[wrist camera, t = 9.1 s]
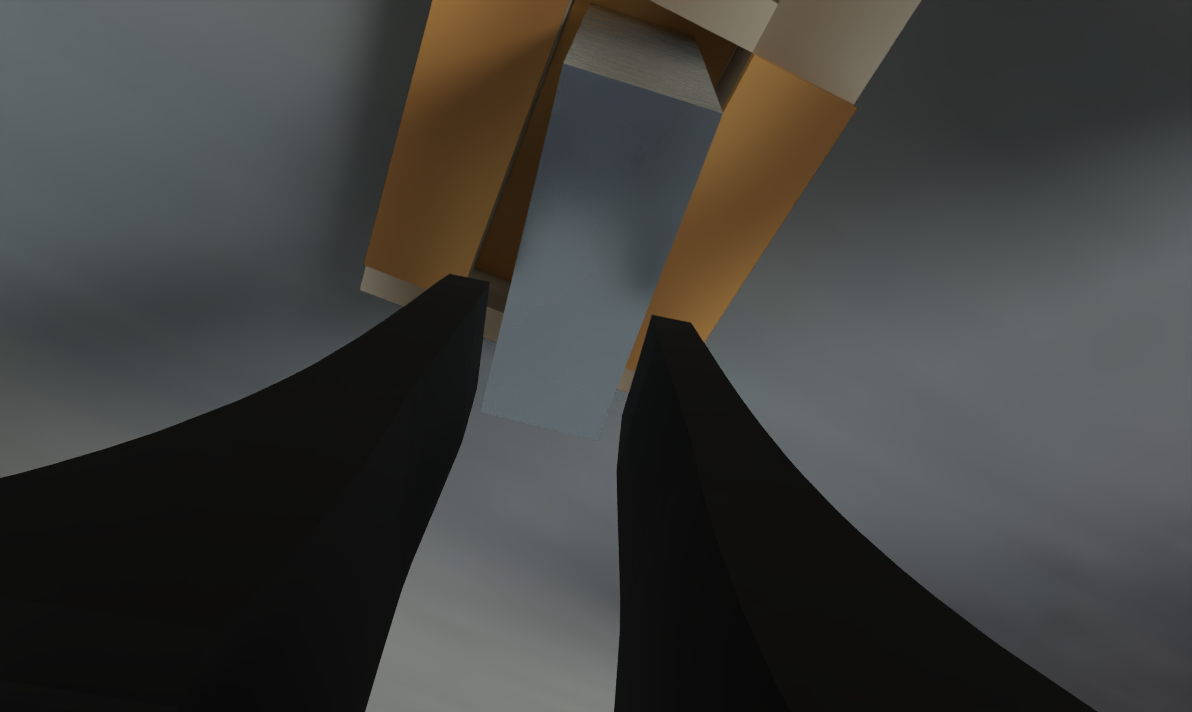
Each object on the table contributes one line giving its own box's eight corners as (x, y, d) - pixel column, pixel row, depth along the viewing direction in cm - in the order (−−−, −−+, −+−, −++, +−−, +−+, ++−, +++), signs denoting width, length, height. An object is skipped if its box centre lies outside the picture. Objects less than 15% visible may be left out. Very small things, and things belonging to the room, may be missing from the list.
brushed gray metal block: (694, 36, 15) (723, 113, 10) (609, 289, 19) (596, 440, 14) (590, 2, 15) (563, 63, 10) (525, 266, 19) (480, 412, 14)
